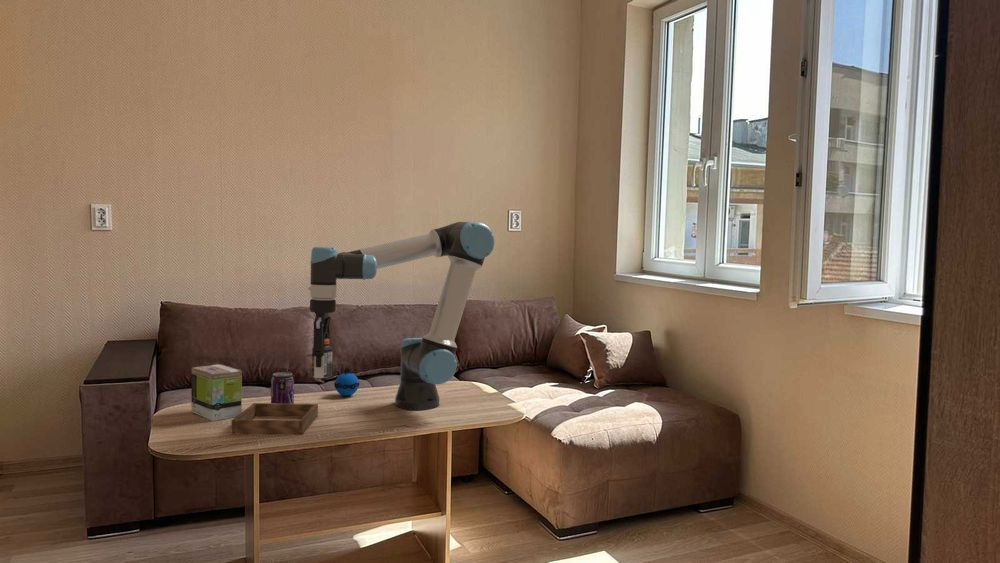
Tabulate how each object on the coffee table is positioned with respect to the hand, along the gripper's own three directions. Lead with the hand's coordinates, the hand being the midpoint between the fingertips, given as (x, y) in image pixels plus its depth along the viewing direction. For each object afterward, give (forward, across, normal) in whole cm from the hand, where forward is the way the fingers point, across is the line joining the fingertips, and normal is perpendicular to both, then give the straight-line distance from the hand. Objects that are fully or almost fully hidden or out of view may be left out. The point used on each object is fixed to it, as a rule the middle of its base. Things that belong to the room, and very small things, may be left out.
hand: (321, 375), depth 209 cm
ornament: (+15, -38, +2) cm, 41 cm away
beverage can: (+16, -18, -16) cm, 28 cm away
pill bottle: (0, 0, 0) cm, 1 cm away
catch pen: (+16, -1, -13) cm, 20 cm away
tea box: (+16, -12, -35) cm, 40 cm away
